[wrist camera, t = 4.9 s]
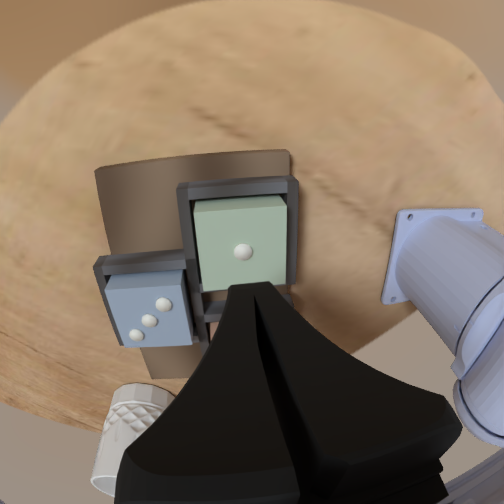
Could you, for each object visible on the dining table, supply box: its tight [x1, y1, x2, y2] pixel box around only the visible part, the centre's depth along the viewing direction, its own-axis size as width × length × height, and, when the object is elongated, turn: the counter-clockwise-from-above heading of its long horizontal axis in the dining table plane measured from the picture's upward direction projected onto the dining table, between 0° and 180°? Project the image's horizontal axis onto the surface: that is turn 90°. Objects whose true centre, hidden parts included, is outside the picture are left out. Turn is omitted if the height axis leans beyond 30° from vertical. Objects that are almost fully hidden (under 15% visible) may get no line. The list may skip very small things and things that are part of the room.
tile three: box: [105, 269, 194, 348], centre depth 18 cm, size 4×4×3 cm
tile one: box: [194, 193, 287, 291], centre depth 17 cm, size 4×4×3 cm
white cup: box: [91, 383, 175, 497], centre depth 22 cm, size 8×8×10 cm
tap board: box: [93, 149, 299, 379], centre depth 19 cm, size 12×17×2 cm
